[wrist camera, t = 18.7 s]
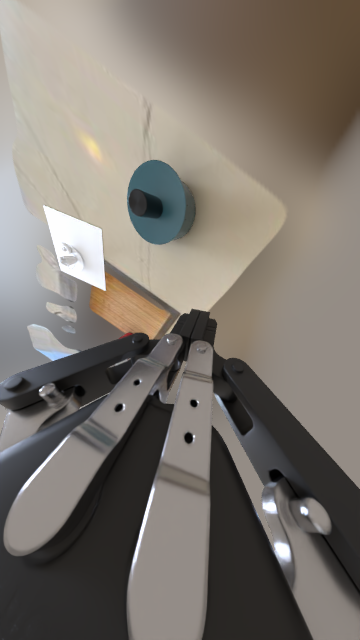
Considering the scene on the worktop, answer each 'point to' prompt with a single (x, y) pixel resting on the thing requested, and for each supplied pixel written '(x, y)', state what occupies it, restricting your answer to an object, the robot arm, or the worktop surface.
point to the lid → (156, 202)
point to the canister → (187, 213)
